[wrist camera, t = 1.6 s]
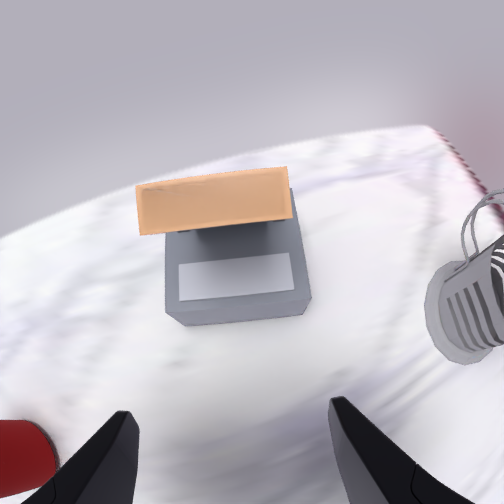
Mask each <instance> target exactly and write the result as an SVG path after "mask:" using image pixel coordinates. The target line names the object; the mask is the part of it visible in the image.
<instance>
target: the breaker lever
mask: <svg viewBox="0 0 504 504" xmlns="http://www.w3.org/2000/svg"><path fill="white" fill-rule="evenodd" d="M136 199H137V211H138V222H139V231H140V235H152V234H160V233H168V232H176V231H184V230H192V229H201V228H209V227H218V226H227V225H236V224H245V223H254V222H264V221H273V220H283V219H290V218H293V215H292V206H291V197H290V188H289V179H288V171H287V166H286V167H274V168H263V169H253V170H243V171H234V172H225V173H217V174H209V175H202V176H194V177H187V178H180V179H174V180H167V181H161V182H155V183H149V184H143V185H137V186H136Z"/></svg>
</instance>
